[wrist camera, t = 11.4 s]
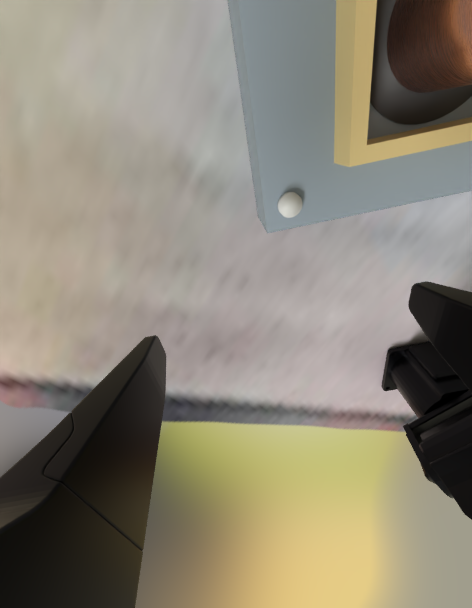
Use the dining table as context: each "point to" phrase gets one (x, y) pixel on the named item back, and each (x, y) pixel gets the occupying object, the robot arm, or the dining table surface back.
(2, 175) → the dining table surface
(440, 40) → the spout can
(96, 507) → the robot arm
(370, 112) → the grey plate with frame
